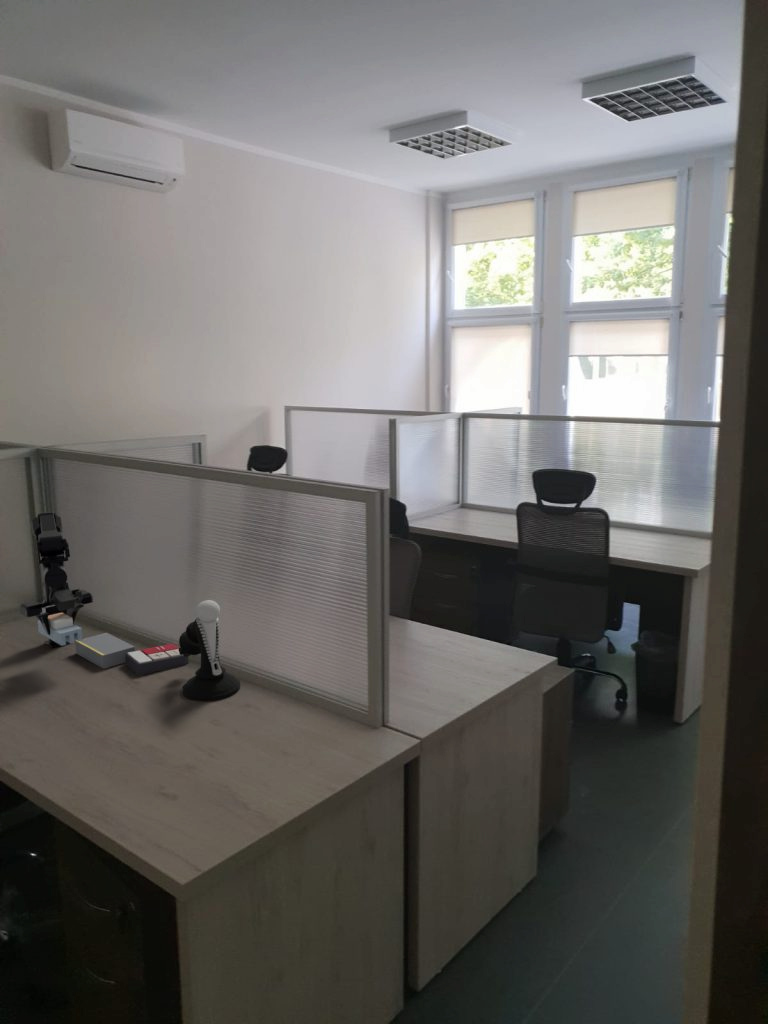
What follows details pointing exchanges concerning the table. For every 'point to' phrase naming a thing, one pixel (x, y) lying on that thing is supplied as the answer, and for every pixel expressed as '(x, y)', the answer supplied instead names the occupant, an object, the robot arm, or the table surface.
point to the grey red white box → (155, 659)
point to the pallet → (62, 634)
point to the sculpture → (206, 657)
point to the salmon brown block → (55, 616)
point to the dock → (104, 650)
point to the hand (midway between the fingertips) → (59, 631)
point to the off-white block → (61, 622)
